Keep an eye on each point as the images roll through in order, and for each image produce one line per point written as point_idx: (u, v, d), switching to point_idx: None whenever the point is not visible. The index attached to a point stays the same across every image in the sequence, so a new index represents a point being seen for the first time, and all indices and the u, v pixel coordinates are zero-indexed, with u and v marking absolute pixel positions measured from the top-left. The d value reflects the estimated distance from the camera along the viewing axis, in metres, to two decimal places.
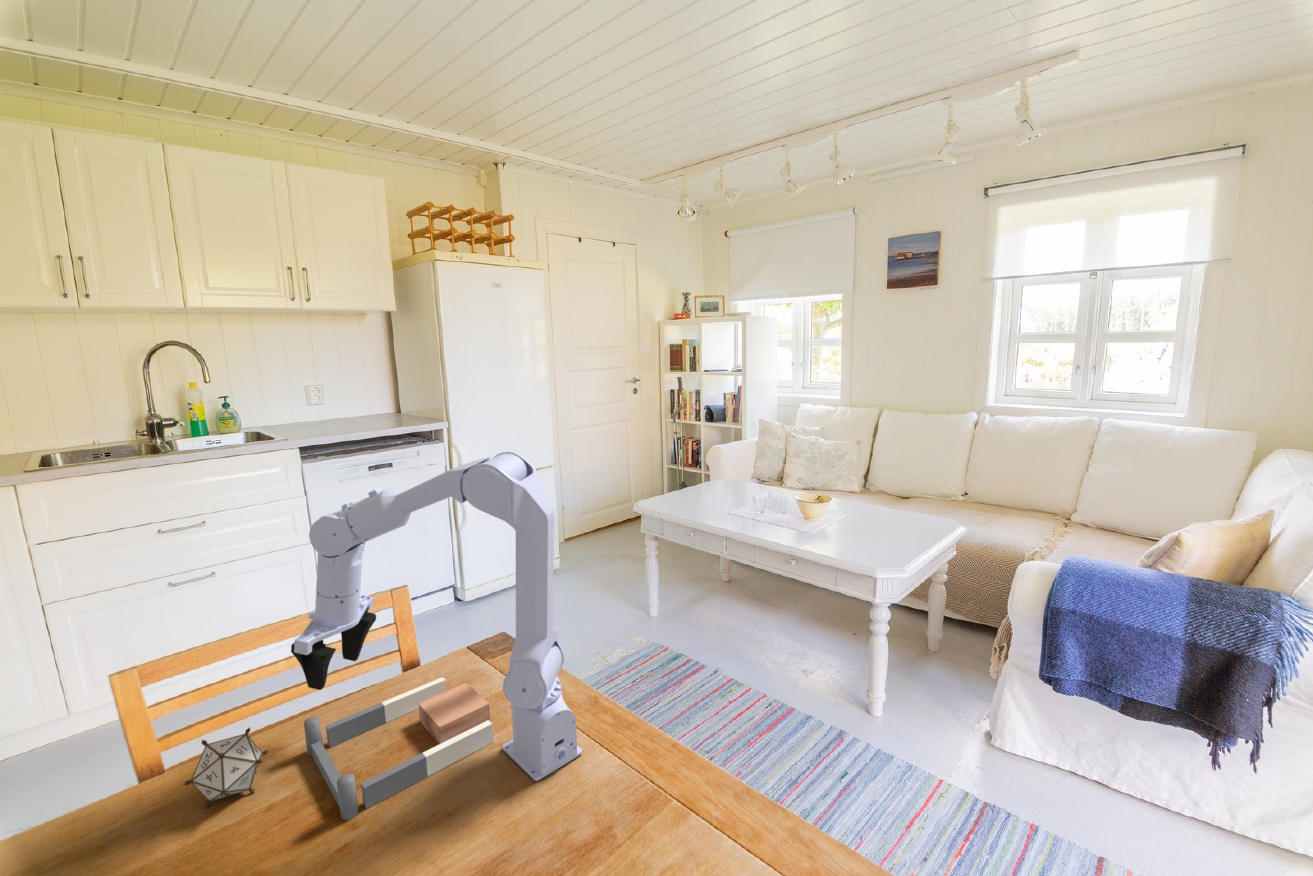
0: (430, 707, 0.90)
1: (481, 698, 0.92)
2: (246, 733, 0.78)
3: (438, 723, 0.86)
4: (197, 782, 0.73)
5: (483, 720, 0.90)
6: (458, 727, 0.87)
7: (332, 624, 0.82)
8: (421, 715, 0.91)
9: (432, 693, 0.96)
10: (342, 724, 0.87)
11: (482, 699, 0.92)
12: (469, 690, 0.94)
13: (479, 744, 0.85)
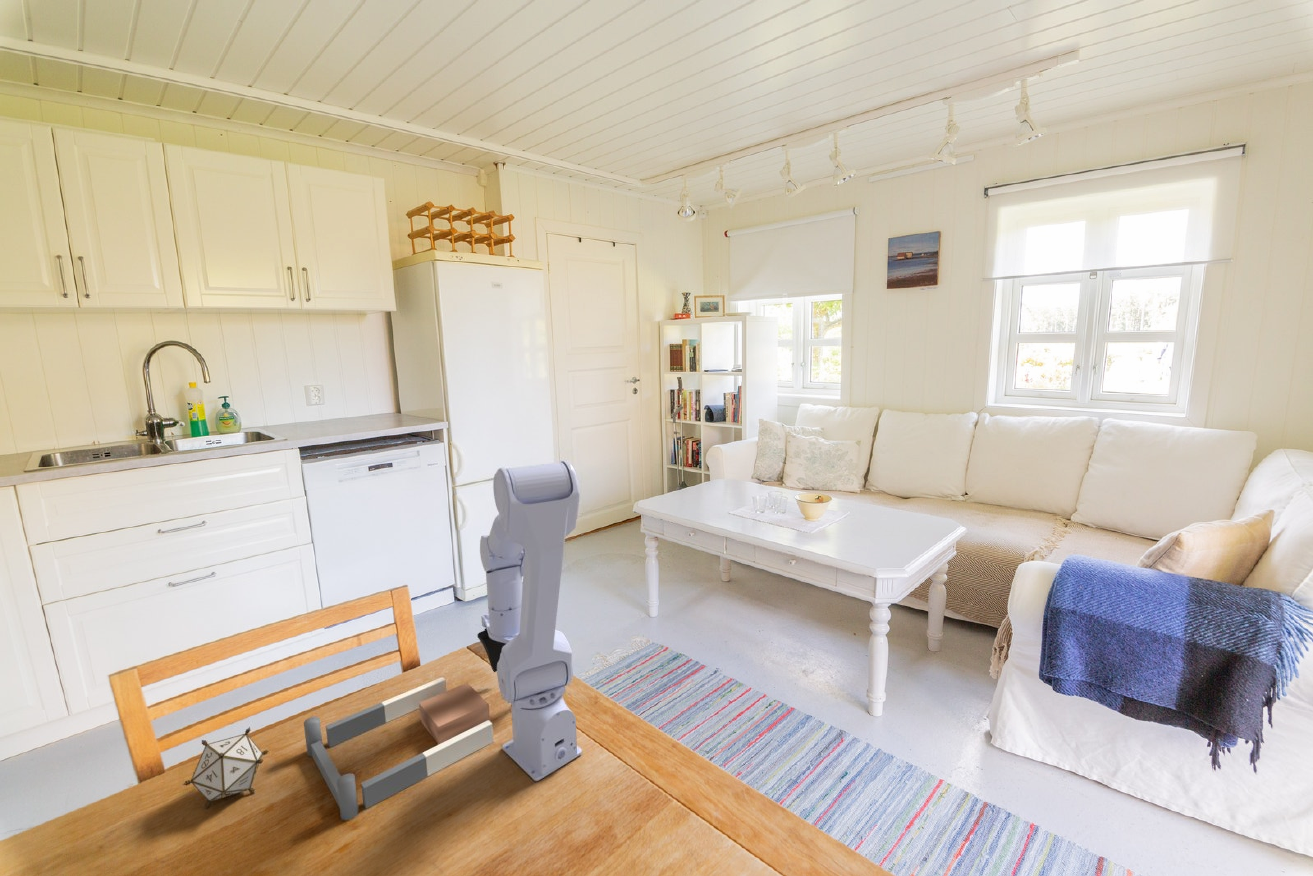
0: (430, 706, 0.90)
1: (481, 698, 0.92)
2: (246, 733, 0.78)
3: (437, 723, 0.86)
4: (197, 782, 0.73)
5: (482, 720, 0.90)
6: (457, 728, 0.87)
7: None
8: (421, 714, 0.91)
9: (432, 693, 0.96)
10: (342, 724, 0.87)
11: (482, 699, 0.92)
12: (470, 690, 0.94)
13: (479, 744, 0.85)
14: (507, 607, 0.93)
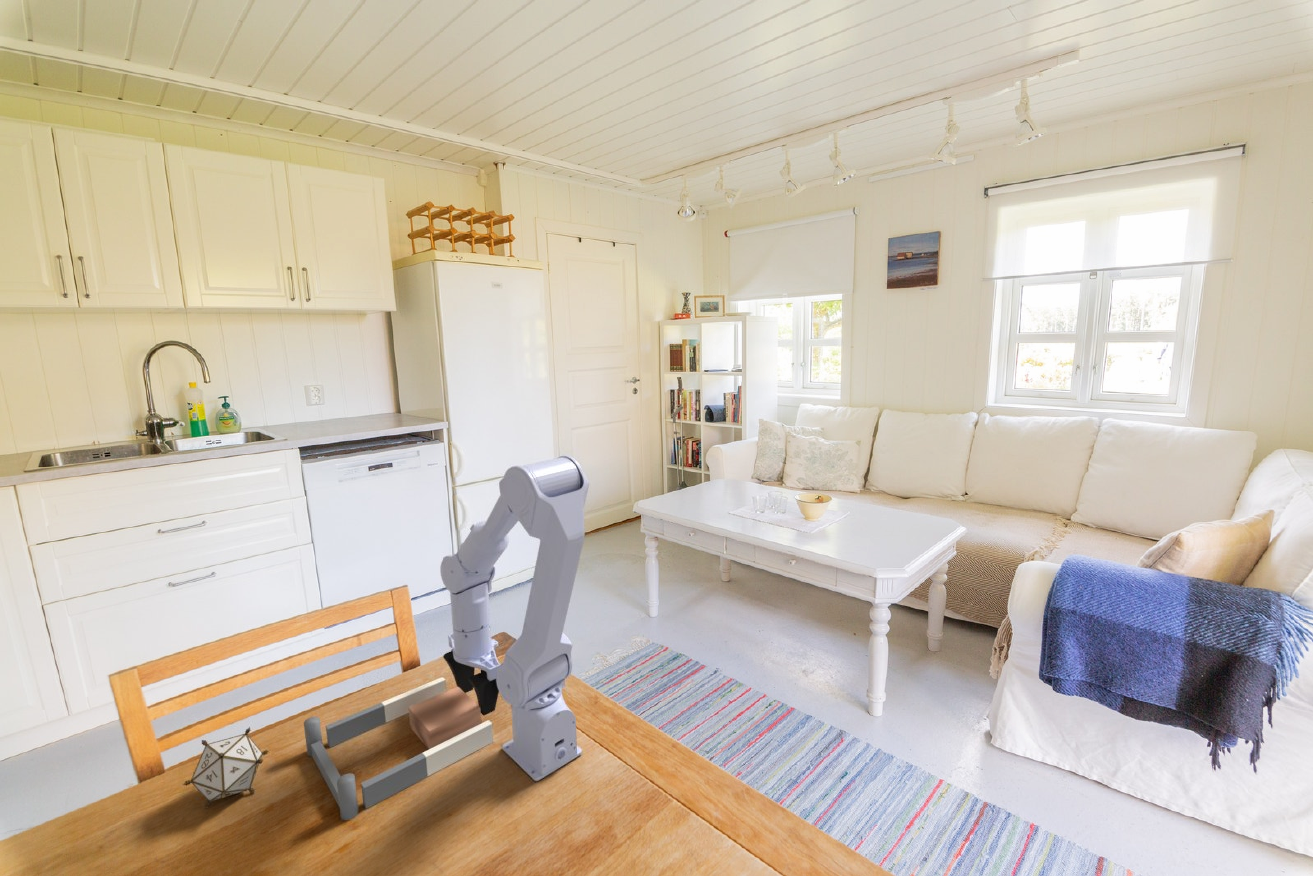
0: (420, 711, 0.89)
1: (472, 702, 0.91)
2: (246, 733, 0.78)
3: (428, 727, 0.85)
4: (197, 782, 0.73)
5: (474, 724, 0.89)
6: (448, 732, 0.86)
7: None
8: (411, 719, 0.89)
9: (432, 693, 0.96)
10: (342, 724, 0.87)
11: (473, 703, 0.90)
12: (460, 694, 0.93)
13: (479, 744, 0.85)
14: (479, 626, 0.89)
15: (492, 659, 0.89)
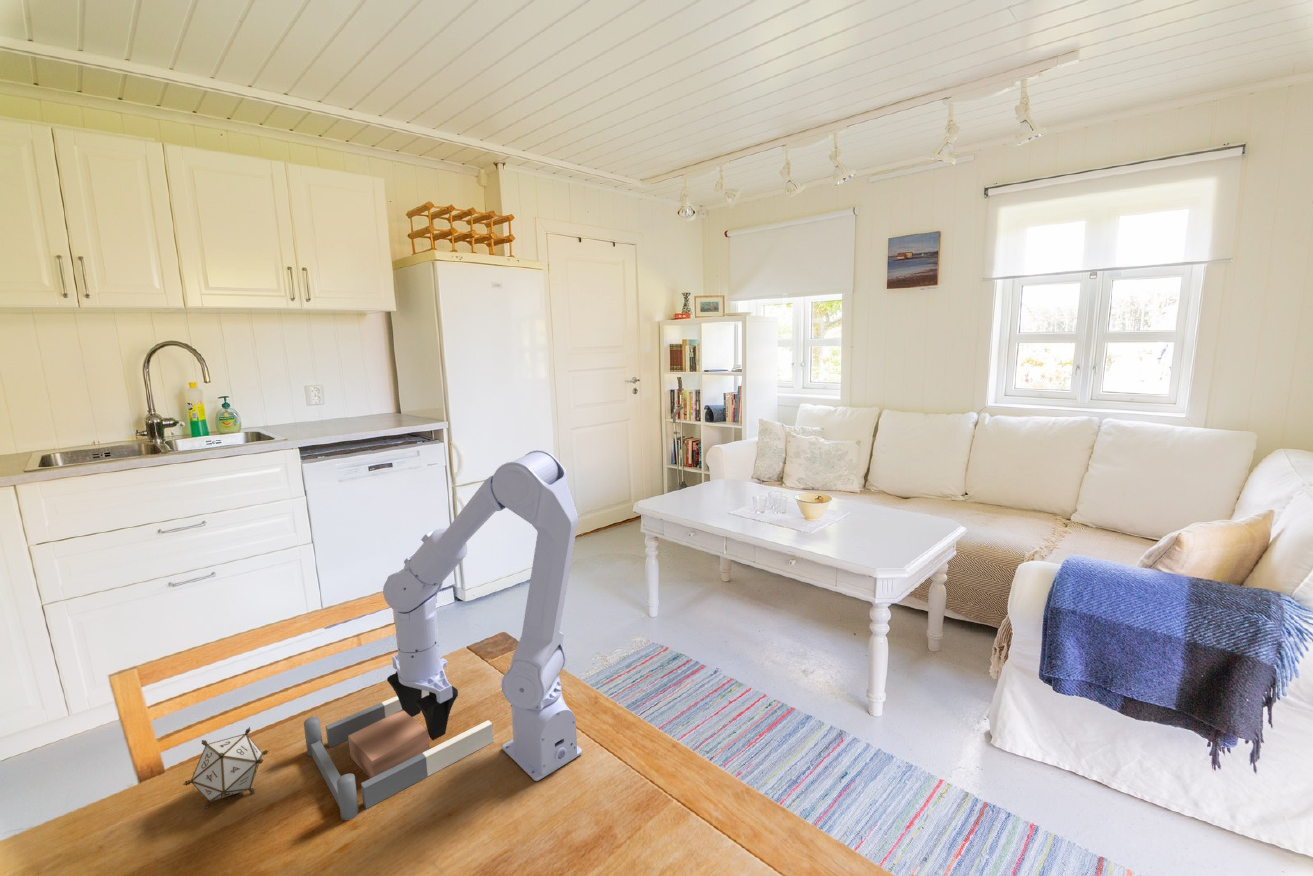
0: (361, 739, 0.82)
1: (419, 725, 0.85)
2: (246, 733, 0.78)
3: (370, 757, 0.79)
4: (197, 782, 0.73)
5: (421, 749, 0.83)
6: (393, 760, 0.80)
7: None
8: (351, 748, 0.83)
9: None
10: (342, 724, 0.87)
11: (420, 727, 0.85)
12: (406, 717, 0.87)
13: (479, 744, 0.85)
14: (433, 642, 0.85)
15: (441, 680, 0.84)
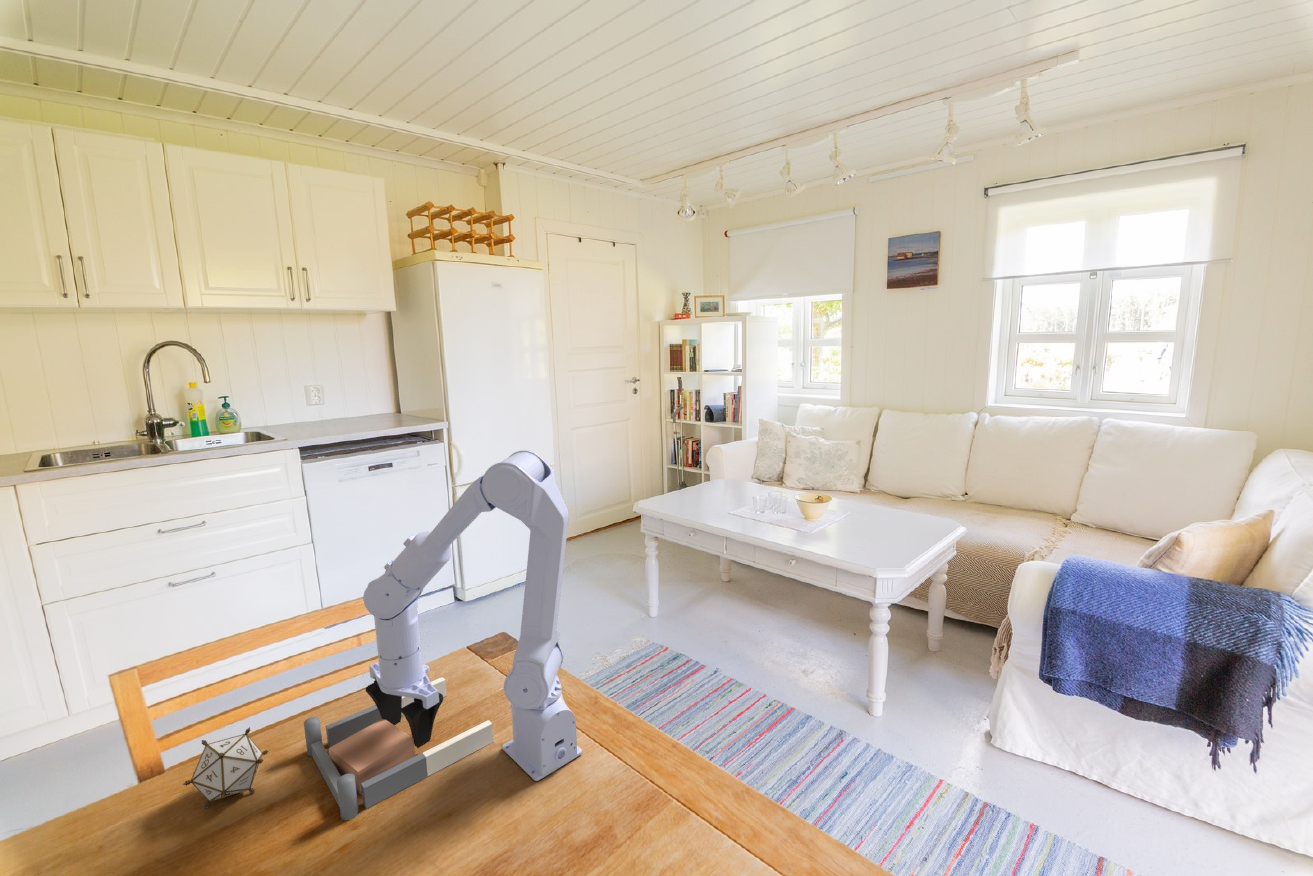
0: (343, 750, 0.80)
1: (403, 733, 0.83)
2: (246, 733, 0.78)
3: (356, 767, 0.77)
4: (197, 782, 0.73)
5: (407, 757, 0.82)
6: (379, 769, 0.78)
7: None
8: (332, 761, 0.80)
9: None
10: (342, 724, 0.87)
11: (404, 734, 0.83)
12: (388, 726, 0.85)
13: (479, 744, 0.85)
14: (416, 648, 0.83)
15: (426, 685, 0.83)
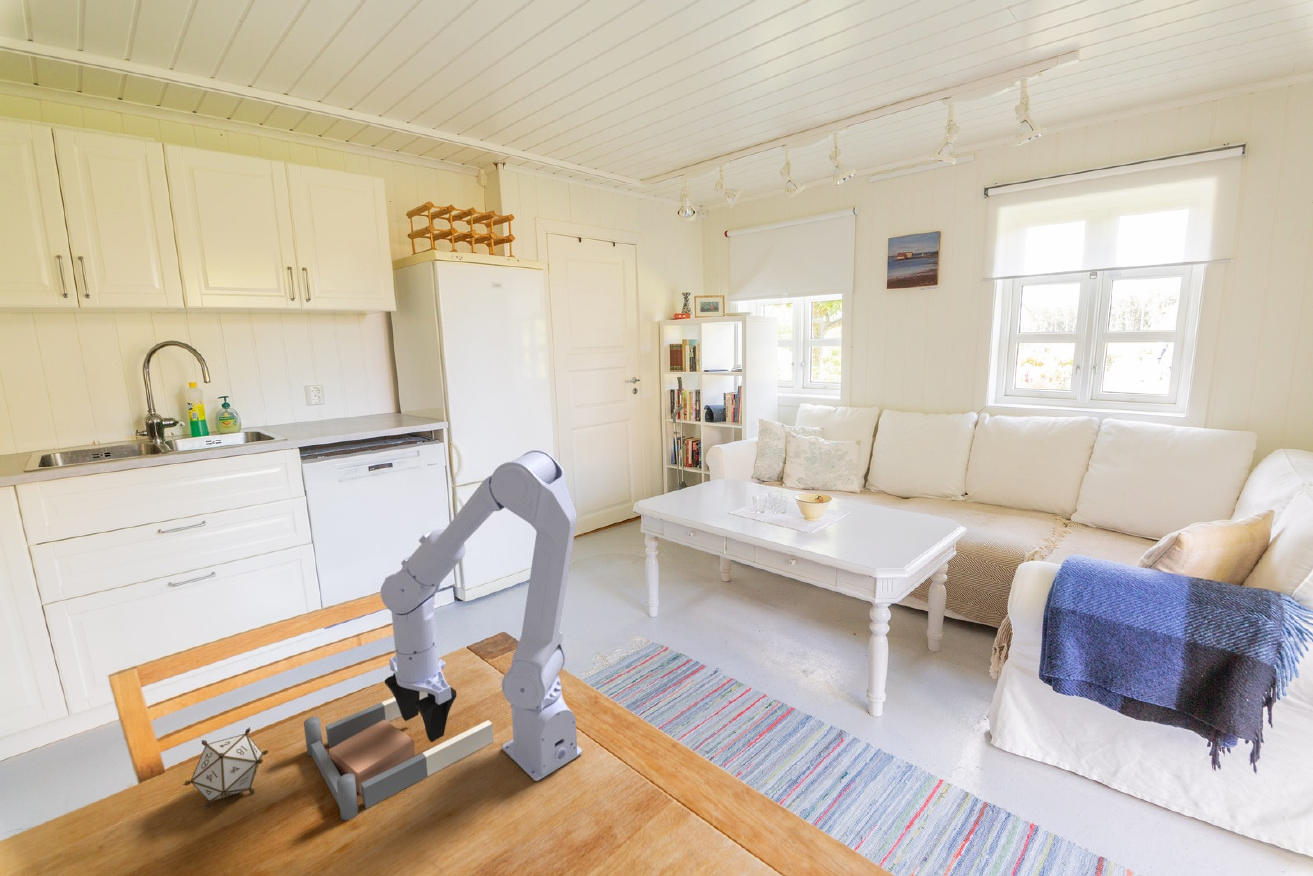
0: (344, 752, 0.80)
1: (403, 735, 0.83)
2: (246, 734, 0.78)
3: (356, 769, 0.77)
4: (197, 782, 0.73)
5: (407, 759, 0.82)
6: (379, 771, 0.79)
7: None
8: (333, 762, 0.80)
9: None
10: (342, 724, 0.87)
11: (405, 736, 0.83)
12: (388, 727, 0.85)
13: (479, 744, 0.85)
14: (431, 643, 0.84)
15: (440, 681, 0.84)
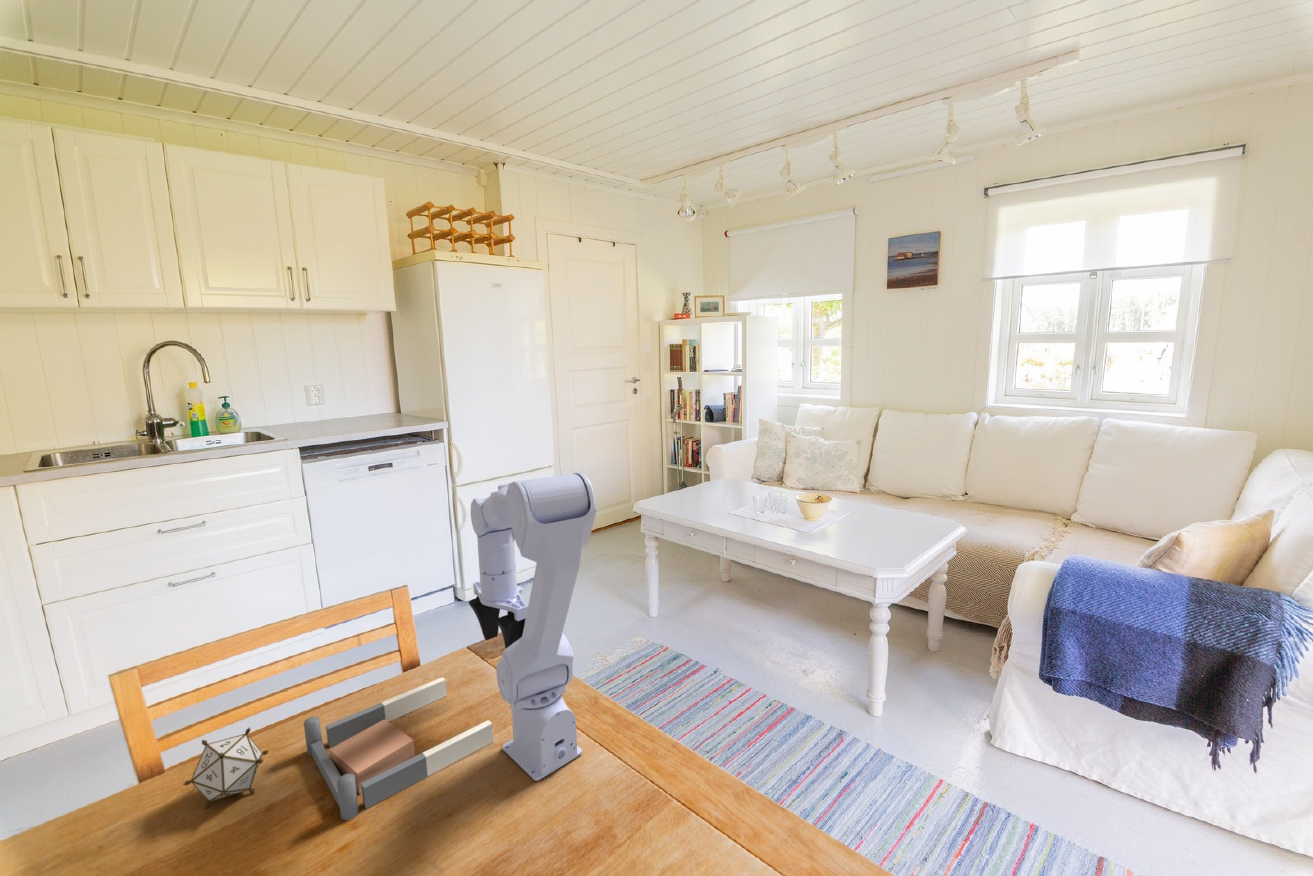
0: (344, 751, 0.80)
1: (404, 735, 0.83)
2: (246, 733, 0.78)
3: (355, 769, 0.77)
4: (197, 782, 0.73)
5: (407, 759, 0.82)
6: (379, 771, 0.78)
7: None
8: (333, 762, 0.80)
9: (432, 693, 0.96)
10: (342, 724, 0.87)
11: (405, 736, 0.83)
12: (389, 727, 0.85)
13: (479, 744, 0.85)
14: (500, 571, 0.91)
15: (518, 602, 0.92)
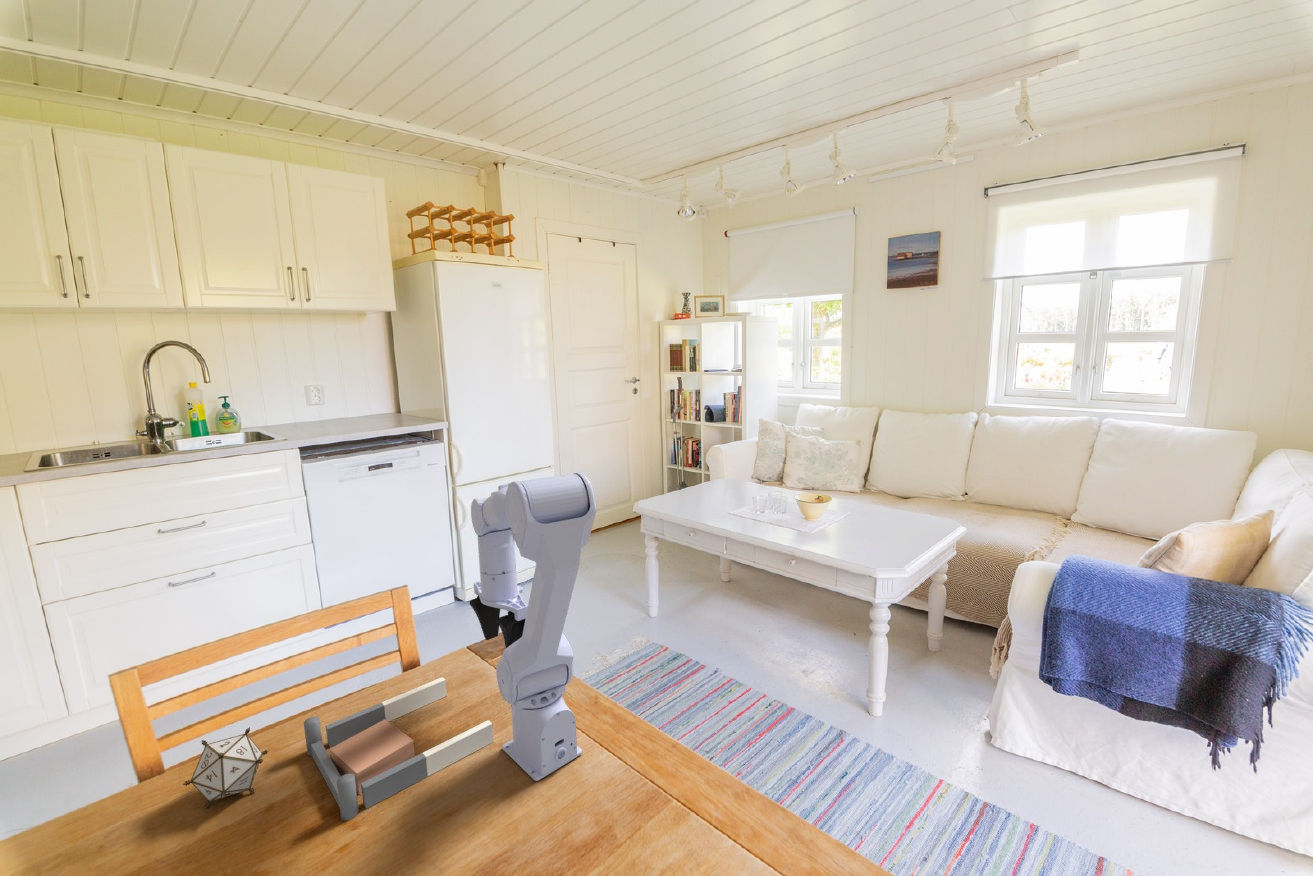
0: (344, 751, 0.80)
1: (404, 735, 0.83)
2: (246, 734, 0.78)
3: (355, 769, 0.77)
4: (197, 782, 0.73)
5: (407, 759, 0.82)
6: (378, 771, 0.78)
7: None
8: (333, 762, 0.81)
9: (432, 693, 0.96)
10: (342, 724, 0.87)
11: (405, 736, 0.83)
12: (389, 727, 0.85)
13: (479, 744, 0.85)
14: (500, 571, 0.91)
15: (519, 601, 0.92)
